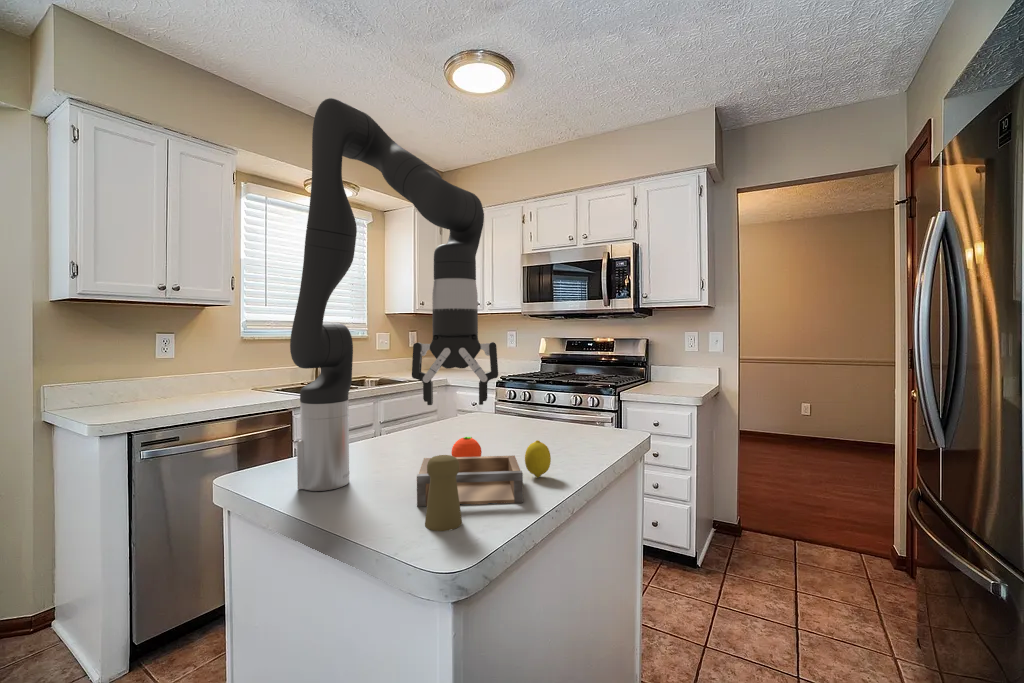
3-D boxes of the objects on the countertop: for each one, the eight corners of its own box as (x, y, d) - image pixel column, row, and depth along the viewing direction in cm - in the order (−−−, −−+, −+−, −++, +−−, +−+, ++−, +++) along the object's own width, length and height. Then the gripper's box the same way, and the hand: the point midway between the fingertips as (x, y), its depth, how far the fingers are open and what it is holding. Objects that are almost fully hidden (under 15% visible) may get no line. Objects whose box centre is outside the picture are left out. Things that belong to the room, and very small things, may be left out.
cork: (426, 517, 81) (426, 452, 81) (462, 515, 82) (462, 451, 82) (422, 531, 75) (422, 461, 75) (461, 530, 76) (461, 460, 76)
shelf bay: (417, 506, 86) (416, 476, 86) (424, 482, 100) (423, 455, 100) (522, 502, 88) (522, 472, 88) (514, 478, 102) (514, 453, 102)
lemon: (550, 474, 106) (550, 437, 105) (550, 481, 100) (550, 443, 100) (525, 473, 106) (525, 437, 106) (523, 481, 101) (523, 443, 101)
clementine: (458, 461, 116) (458, 432, 116) (486, 463, 115) (485, 433, 115) (447, 470, 108) (447, 439, 108) (477, 472, 107) (476, 440, 107)
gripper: (408, 306, 76) (409, 408, 77) (498, 306, 77) (498, 407, 77) (415, 309, 84) (416, 401, 84) (497, 308, 85) (497, 400, 85)
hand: (455, 404), depth 81 cm, fingers open, 8 cm apart
